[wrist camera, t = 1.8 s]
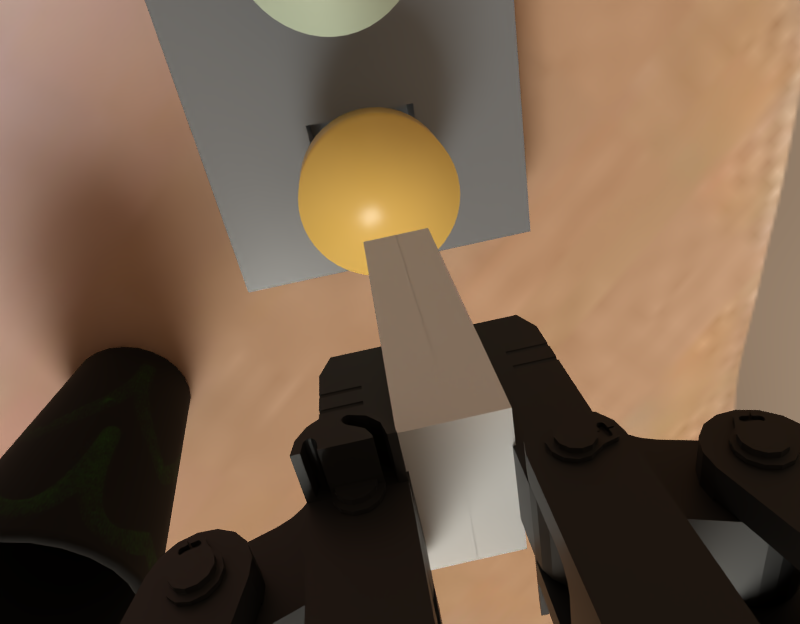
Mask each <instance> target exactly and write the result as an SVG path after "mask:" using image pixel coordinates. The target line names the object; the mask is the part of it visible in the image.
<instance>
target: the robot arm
mask: <svg viewBox="0 0 800 624" xmlns="http://www.w3.org/2000/svg"><path fill="white" fill-rule="evenodd" d="M363 243H364V249H365V255H366V260H367V266H368V272H369V278H370V284H371V290H372V296H373V301H374V307H375V313H376V319H377V325H378V331H379V336H380V342H381V347H377V348H372V349H368V350H363V351H359V352H354V353H349V354H345V355H340V356H336V357H331V358H330V359H329V361H328V363H327V364H326V366H325V368H324V369H323V371H322V373H321V374H320V376H319V396H320V399H319V412H320V415H319V419H318V420H317V421H315V422H314V423H312V424H311V425H309V426H308V427H306V428H305V430H304V431H303V432H302V433H301V434H300V435H299V437H298V438H297V439H296V440H295V442H294V445H293V448H292V451H291V454H290V458H291V461H292V464H293V466H294V469H295V472H296V474H297V477H298V480H299V482H300V485H301V488H302V490H303V493H304V496H305V499H306V501H307V503H306V505H305V506H304V507H303V509H301V510H300V511H299V512H298V513H297V514H296V515H295V516H294V517H292V518H291V519H290V520H288V521H287V522H285V523H283V524H282V525H280V526H278V527H277V528H275V529H273V530H271V531H269V532H267V533H265V534H263V535H261V536H259V537H257V538H255V539H253V540H251V541H249V542H247V541H246V540H245V539H243V538H242V537H241V536H240V535H238V534H237V533H236V532H232V531H226V530H220V529H215V530H210V531H205V532H200V533H197V534H195V535H193V536H191V537H188V538H186V539H184V540H182V541H180V542H178V543H177V544H176V545H174V546H173V547H172V548H171V549H170V550H168V551H167V552H166V553H165V554H163V555H162V556H161V557H160V558H159V559H158V560H157V562H156V563H155V564H154V566H153V567H152V568H151V570H150V571H149V572H148V574H147V575H146V576H145V578H144V580H143V582H142V584H141V586H140V587H139V589H138V591H137V593H136V595H135V597H134V598H133V600H132V602H131V604H130V606H129V608H128V609H127V611H126V613H125V615H124V617H123V619H122V620H121V622H120V624H442V620H441V615H440V609H439V605H438V601H437V596H436V592H435V588H434V584H433V579H432V573H431V570H434V569H439V568H443V567H448V566H452V565H457V564H461V563H465V562H470V561H474V560H479V559H483V558H487V557H492V556H496V555H501V554H505V553H510V552H514V551H518V550H523V549H527V544H526V535H525V531H526V534H527V536H528V539H529V542H530V544H531V547H532V549H533V552H534V555H535V560H536V571H537V581H538V591H539V601H540V608H541V615H546V614H549V613H550V616H551V618H552V621H553V624H800V424H799V423H797V422H795V421H793V420H791V419H788V418H787V417H784V416H781V415H777V414H773V413H769V412H764V411H760V410H733V411H729V412H726V413H722V414H718V415H716V416H714V417H713V418H712V419H710V420H709V421H707V422H706V423H705V424H704V425H703V427H702V430H701V433H700V435H699V440H698V441H692V440H656V439H646V438H639V437H635V436H631V435H628V434H627V433H626V431H625V430H624V429H623V428H621V427H620V426H619V425H618V424H617V423H616V422H615V421H614V420H612V419H610V418H608V417H606V416H604V415H601V414H599V413H597V412H592V410H591V409H590V407H589V406H588V404H587V403H586V401H585V400H584V398H583V397H582V395H581V393H580V392H579V390H578V389H577V387H576V386H575V384H574V383H573V381H572V380H571V378H570V377H569V375H568V374H567V372H566V371H565V369H564V368H563V366H562V365H561V363H560V361H559V360H557V359H556V355H555V354H554V352H553V351H552V349H551V348H550V346H548V345H547V342H546V340H545V339H544V337H543V336H542V334H541V333H540V331H539V329H538V328H537V326H535V325H533V324H531V323H530V322H528V321H526V320H524V319H523V318H521V317H519V316H518V315H514V316H509V317H505V318H500V319H495V320H491V321H486V322H482V323H477V324H473V323H472V321H471V319H470V317H469V315H468V313H467V311H466V308H465V306H464V304H463V302H462V300H461V298H460V295H459V293H458V291H457V289H456V287H455V285H454V283H453V280H452V278H451V276H450V274H449V272H448V270H447V267H446V265H445V263H444V261H443V259H442V257H441V255H440V252H439V250H438V248H437V246H436V244H435V242H434V240H433V237H432V235H431V233H430V231H429V229H428V228H425V229H421V230H416V231H412V232H407V233H402V234H398V235H393V236H388V237H384V238H379V239H375V240H370V241H365V242H363Z"/></svg>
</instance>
